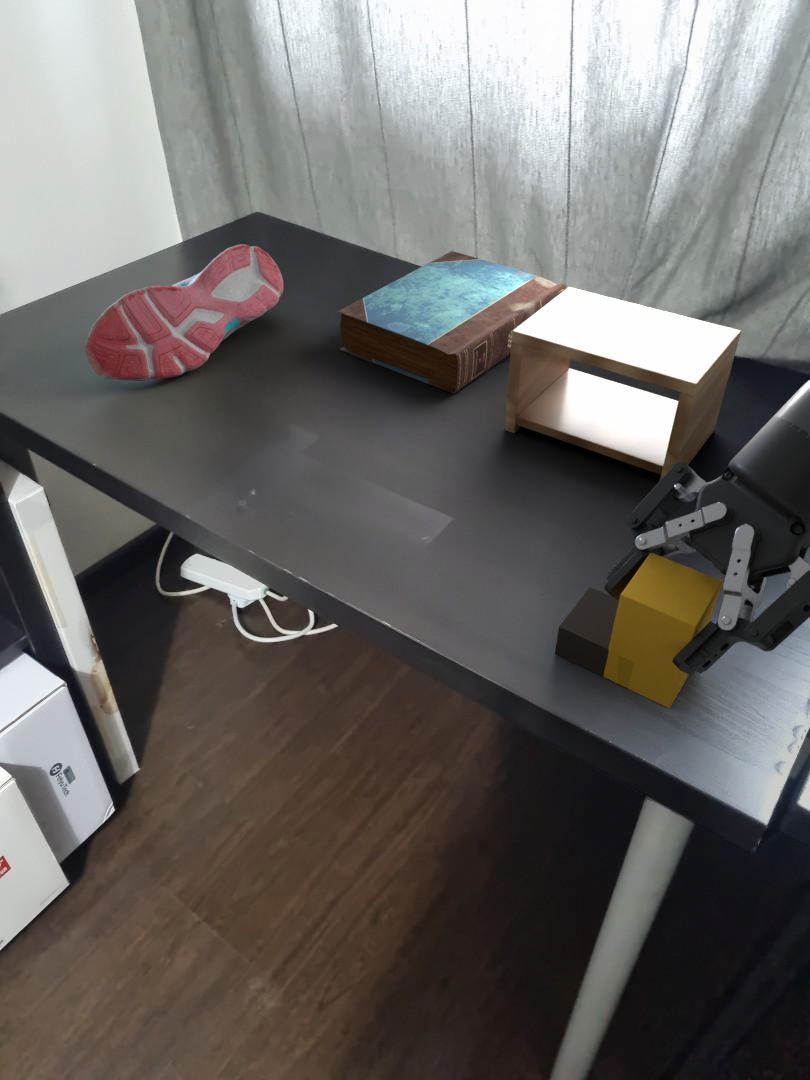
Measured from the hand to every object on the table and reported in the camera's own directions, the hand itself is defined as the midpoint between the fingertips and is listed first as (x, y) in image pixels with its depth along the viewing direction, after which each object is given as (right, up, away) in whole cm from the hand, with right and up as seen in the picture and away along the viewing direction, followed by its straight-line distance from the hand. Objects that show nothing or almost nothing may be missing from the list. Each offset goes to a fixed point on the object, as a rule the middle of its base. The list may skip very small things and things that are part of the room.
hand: (645, 630), depth 57 cm
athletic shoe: (-42, +29, +43) cm, 67 cm away
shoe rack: (+4, +18, +28) cm, 33 cm away
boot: (0, -3, +5) cm, 5 cm away
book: (-11, +31, +45) cm, 56 cm away
